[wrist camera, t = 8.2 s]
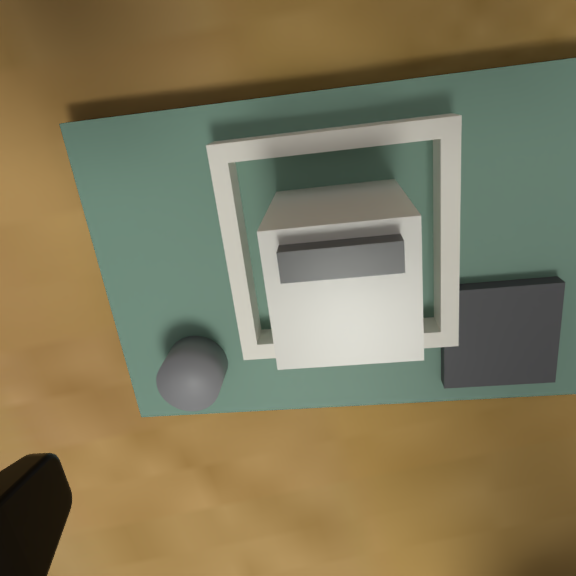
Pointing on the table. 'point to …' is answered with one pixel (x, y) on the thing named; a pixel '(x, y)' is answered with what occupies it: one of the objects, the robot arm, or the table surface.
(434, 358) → the board
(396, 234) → the plug
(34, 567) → the robot arm
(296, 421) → the table surface
